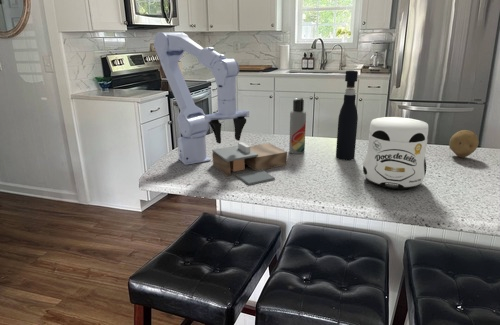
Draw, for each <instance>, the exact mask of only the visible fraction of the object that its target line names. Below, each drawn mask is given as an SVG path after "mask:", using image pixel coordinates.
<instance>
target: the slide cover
mask: <svg viewBox="0 0 500 325" xmlns="http://www.w3.org/2000/svg"><path fill="white" fill-rule="evenodd" d="M237 143H238V144H237V145H234V146H227V147H221V148H214V149H212V150H211V151H212V152H214V153H215V154H217V155H218V156H220V157H221V158H222V159H224V160H225V161H227V162H229V161H234V160H240V159H246V158H251V157H257V156H258V154H257V153H255V152H253V151H251V150H250V146H251V145H248V144H247V143H245V142H244V141H242V142H241V141H240V142H237ZM212 152H211V153H212Z"/></svg>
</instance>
